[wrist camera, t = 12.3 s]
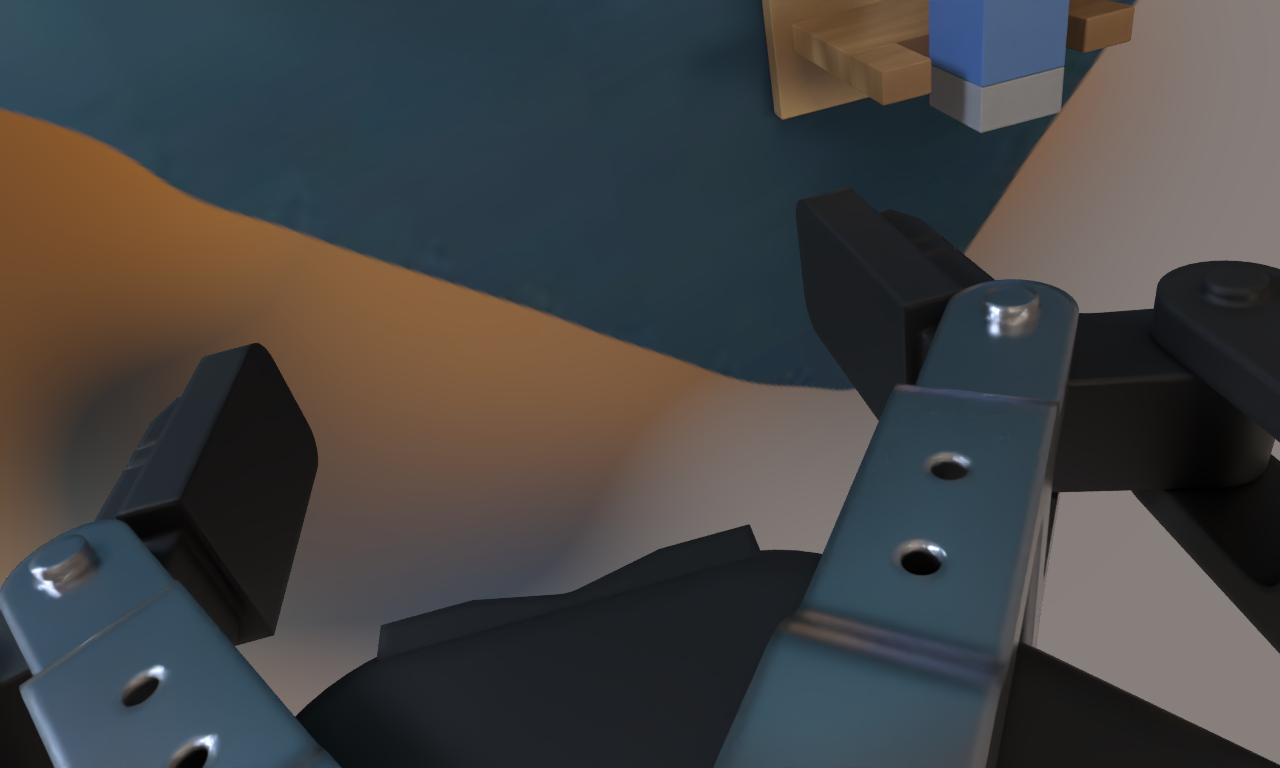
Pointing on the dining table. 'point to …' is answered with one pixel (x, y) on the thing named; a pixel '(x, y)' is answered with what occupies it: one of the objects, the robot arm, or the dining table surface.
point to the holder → (883, 48)
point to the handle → (997, 59)
